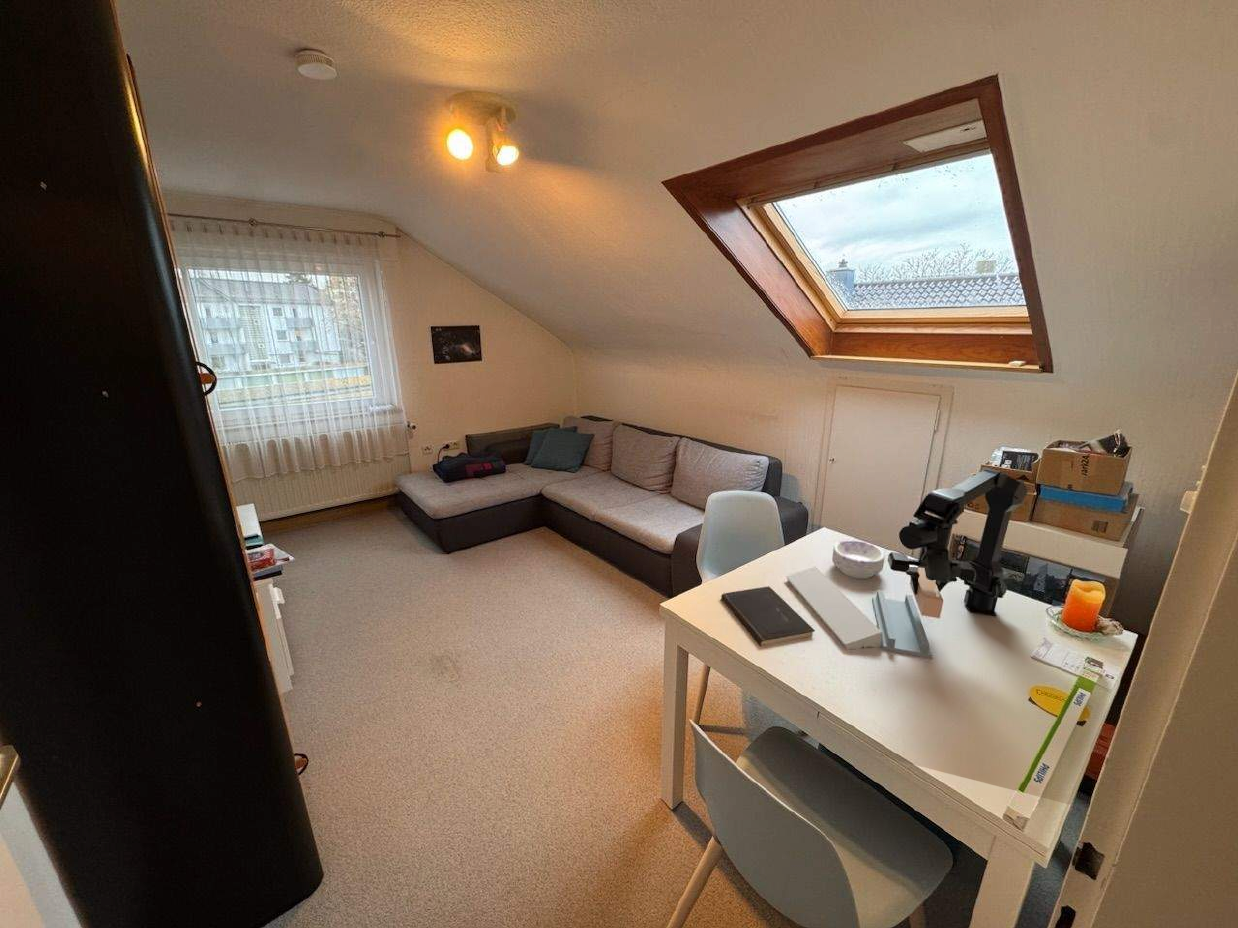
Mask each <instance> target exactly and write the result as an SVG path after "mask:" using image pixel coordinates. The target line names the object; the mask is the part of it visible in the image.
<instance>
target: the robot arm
mask: <svg viewBox="0 0 1238 928" xmlns="http://www.w3.org/2000/svg"><path fill="white" fill-rule="evenodd" d="M1027 494H1028V487H1027V485H1026V484H1025V482H1024V481H1022V480H1019V479H1018V480H1017V479H1015V478H1013V477H1011V476H1009V475H1008V474H1006V473H1005V472H1003V471H1000V470H997V469H993V468H989V467H983V468H981V469H980V470H979V472H978V473H975V474H974V475H972V476H971V477H969V478H967V479H966V480H964V481H961V482H960V483H958V484H956V485H955V486H952V487H945V488H938V489H934V490H932V491H930V492H929V493H928V494H927V495H926V496H925V497H924V499H923V500H922V502H921V503H920V504H919V506H918V507H917V509H916V511H915V512H914V513H913V518H915V519H916V520H911V521H909V523H908V525H905V526H904V527H902V528H901V529H900V531H899V533H898V537H899V541H900V543H901V545H903V547H905V548H906V549H908V550H917V549H920V550H919V553H918V555H917V558H918V559H912V558H908V554H906V553H903V552H897V551H896V552H894V551H892V552H890V553H889V554H888V557H887V562H888V565H889V568H890V570H892V571H894V572H901V573H905V574H906V575H907V576H910V580H911V581H912V586H913V591H914V594H915V595H916V594H917V591H918V578H919V576H920V575H919V573H918V568H919V569H925V574H926V578H927V579H929V580H932V581H933V580H934V581H935V583H936V585H937V587H938V590H939V592H940V593H941V591H942V590H943V589H944V587H945V586H947V585H948V584H950V583H952V582H954V583H955V582H957V581H958V579H960V581H963V584H964V585H965V586H968V587H969V588H968V589H966V590H965V594H964V599H963V602H964V604H965V606H966V607H967V610H968V612H970V613H975V614H981V615H988V616H993V617H997V612H996V606H997V603H998V599H999V598H1000V599H1003V598H1004V596H1005V594H1006V593H1007V590H1008V587H1007V585H1006V583H1005V582H1004V580H1003V576H1004V575H1003V574H1004V569H1003V567H1002V565H1001V563H1000V556H1001V553H1002V550H1003V544H1004V540H1005V537H1006V535H1007V534H1006V533H1007V531H1008V527H1009V523H1010V519H1011V516H1012V515H1011V514H1012V512H1013V511H1014V510H1015V509H1017V508H1018V507H1020V506H1021V505H1022V504H1023V501H1024V499H1025V498H1026V496H1027ZM983 495H984V500H985V501H986V504H987V506H988V510H987V511H988V512H987V515H986V520H985V523H984V527H983V530H982V535H981V537H980V538H981V539H980V543H979V547H978V551H977V554H976V556H974V557H973V558H972V559H971V560H970V561H963V560H955V559H953V560H949V558H950V557H949V545H950V541H951V540H950V539H951V534H952V530H953V525H957V524H958V523H959V522H958V521H959V520H958V518H959V517H960V516H961V515H962V514H963V513H964V512H965V508H966V505H968V504H969V503H971V502H972V501H974V500H976V499H978V498H979V497H981V496H983ZM957 578H958V579H957ZM913 591H912V592H913ZM914 594H913V595H914Z"/></svg>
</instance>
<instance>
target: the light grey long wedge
mask: <svg viewBox="0 0 1238 928" xmlns="http://www.w3.org/2000/svg"><path fill="white" fill-rule="evenodd" d="M785 578H786V579H787V581H788V583H789V584H790V585H791V586H792V587H793V588H794V589H795V591H797V593H798V594H799V595H800V596H801V598H802V599H803V600H804V601H805V603H807V604H808V605H809V606H810V608H811V609H812V611H814V612H815V614H816V615H817V616H818V617H819V618H820V619H821V621H822V622H823V623H824V624H825V625H826V626H827V628H828V629H829V630H830V632H831V633H832V634H833V635H834V636H835V637H836V638H837V639H838V640H839V642H840V643H841V644H842V645H843V646H844V647H845V649H846V650H847V651H848V650H849V651H850V650H859V649H860V650H861V649H862V648H863V649H865V648H867V647H870V648H871V647H872V648H877V647H878V648H879V647H881V648H882V643H884V642H883V635H882V631H881V630H880V629H879V628H878V626H876V625H875V624H874V622H872V621H871V620H870V618H868V616H866V614H864V613H863V612H862V611H861V610H860V609H859V607H857V606H856V605H855V603H853V601H852V600H850V599H849V598H848V597H847V596H846V595H845V594H844V593H843V592H842V591H841V589H839V588H838V587H837V586H836V585H835V584H834V583H833V582H832V581H831V580H830V579H829V578H828V577H827V576H826V575H825V574H824V573H823V572H822V571H821V570H820V569H819V568H818V567H817V566H813V567H809V568H806V569H804V570H801V571H798V572H795V573H792V574H790V575H786V576H785Z"/></svg>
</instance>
